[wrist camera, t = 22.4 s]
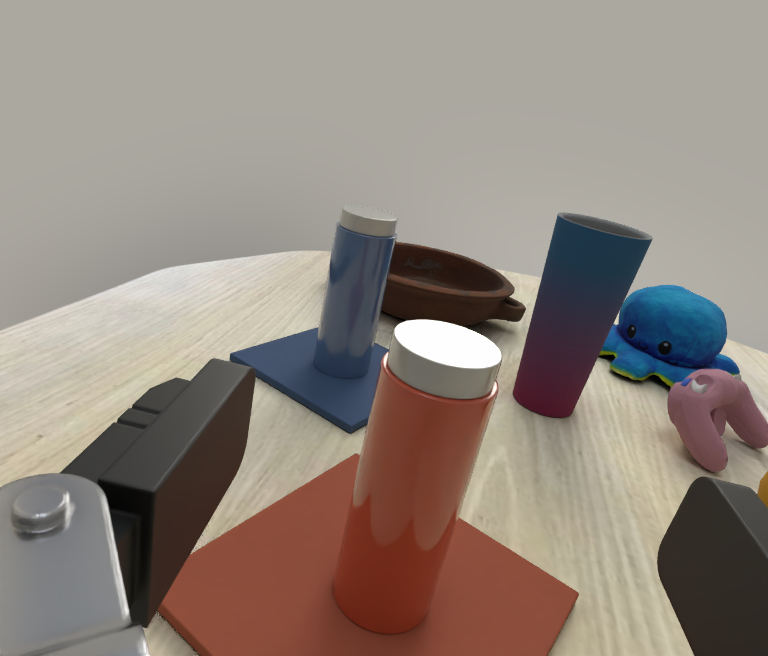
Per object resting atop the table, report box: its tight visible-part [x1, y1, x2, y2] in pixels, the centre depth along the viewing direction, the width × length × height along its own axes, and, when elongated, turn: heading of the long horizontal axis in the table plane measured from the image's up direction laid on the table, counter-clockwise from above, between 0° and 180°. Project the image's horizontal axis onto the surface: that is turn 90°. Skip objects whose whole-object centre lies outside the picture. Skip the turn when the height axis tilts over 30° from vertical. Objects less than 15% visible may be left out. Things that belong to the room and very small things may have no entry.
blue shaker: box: [313, 205, 398, 379], centre depth 41 cm, size 4×4×12 cm
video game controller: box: [668, 369, 768, 472], centre depth 44 cm, size 10×5×7 cm, turn 126°
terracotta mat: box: [158, 454, 579, 656], centre depth 25 cm, size 14×14×1 cm
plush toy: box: [599, 285, 740, 387], centre depth 59 cm, size 17×17×8 cm
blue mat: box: [230, 327, 389, 433], centre depth 44 cm, size 12×12×1 cm
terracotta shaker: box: [333, 320, 502, 634], centre depth 22 cm, size 4×4×12 cm
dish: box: [382, 242, 526, 326], centre depth 61 cm, size 18×22×5 cm
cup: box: [513, 213, 653, 418], centre depth 44 cm, size 7×7×15 cm
